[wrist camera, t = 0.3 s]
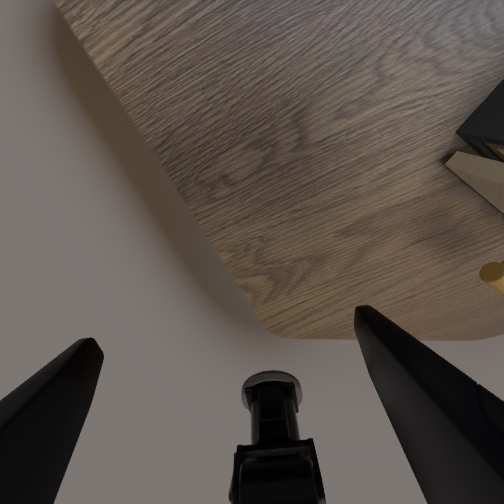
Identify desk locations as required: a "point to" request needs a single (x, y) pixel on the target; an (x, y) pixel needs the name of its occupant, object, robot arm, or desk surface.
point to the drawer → (484, 195)
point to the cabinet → (486, 125)
